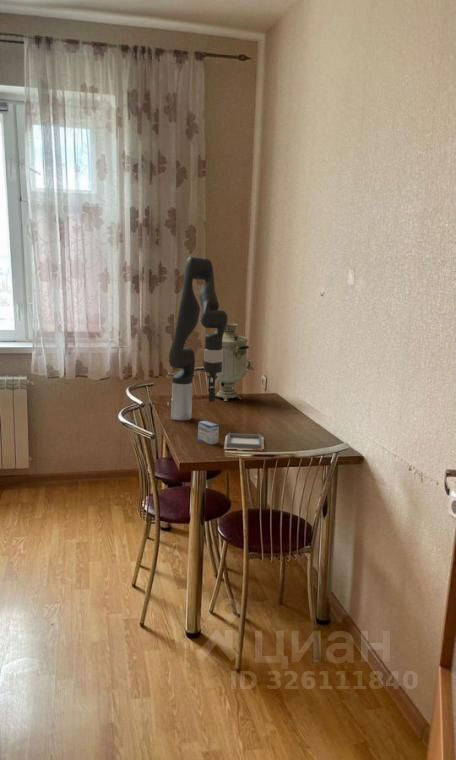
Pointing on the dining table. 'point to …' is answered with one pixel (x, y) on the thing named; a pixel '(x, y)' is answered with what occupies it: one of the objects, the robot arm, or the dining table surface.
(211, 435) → the medicine box
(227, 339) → the samovar
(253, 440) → the board
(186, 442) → the dining table surface
